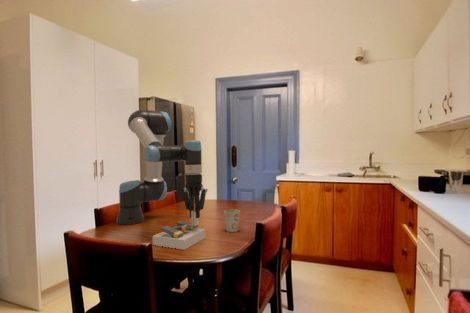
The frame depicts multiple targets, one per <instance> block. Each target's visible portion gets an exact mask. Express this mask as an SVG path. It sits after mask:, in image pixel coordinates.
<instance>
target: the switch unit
mask: <svg viewBox="0 0 470 313" xmlns="http://www.w3.org/2000/svg"><path fill="white" fill-rule="evenodd" d="M176 226H177V225H175V226H174V227H176ZM179 231H182V232H184V233H183V236H181V237H179V238H176V237H174V236H172V235H170V234H167V233H165V232H163V231H161V232H158V233H156V234H154V235H152V246H155V245H156V247H162V246H163V247H162V248H168V247H169V249H175V248H176V250H177V249H178V250H182V251H183V250H184V251H185V250H187V249H188V248H190V247H192V246H194V245H196V244H198V243H199V242H200V241H203V240H204V239H206V229H205V228H198V227H197V228H195V229H189V228H188V229H186V230H179Z"/></svg>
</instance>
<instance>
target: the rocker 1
mask: <svg viewBox="0 0 470 313" xmlns="http://www.w3.org/2000/svg"><path fill="white" fill-rule="evenodd" d="M160 231H161V232H165V233H167V234H170V235H172V236H174V237H176V238H179V237H181V236H183V233H184V232H182V231H179V230H177V229H174V228H172V226H169V225H167V224H166V225H164V226H161V228H160Z"/></svg>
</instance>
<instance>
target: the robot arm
mask: <svg viewBox="0 0 470 313" xmlns="http://www.w3.org/2000/svg"><path fill="white" fill-rule="evenodd" d="M127 126H128V128H129V130H130V131H131V132H132V133H133V134H135V135H136V137H137V138H138V139H139V141H140V143H141V144H142V146H143V147H144V150H143V151H144V153H143V154H144V159H145V160H146V176H145V177H144V178H143V182H142V181H141V180H137V179H136V180H129V181H124V182H122V183H120V184H119V189H118V193H119V194H118V195H119V198H118V199H119V202H118V203H119V210H118V213H117V217H116V224H118V225H134V224H135V225H136V224H140V223H143V222H145V215H144V214H143V210H142V203H147V202H158V201H161V200H164V199H165V197H166V195H167V193H168V192H167V191H168V186H167V182H166V181H165V180H164V177H162V172H163V162H185V163H184V167H185V169H184V170H185V187H183V188H181V189H180V191H181V194H182V195H183V196H182V197H183V202H184V205H185V209H186V210H188V211H189V219H191V223H192V225H194V226H196V225H198V226H199V218H200V216H201V215H200V214H201V213H200V211H202V210H204V207H205V201H206V195H207V192H208V189H207V188H205V187H204V186H203V174H202V173H203V170H202V169H203V168H202V165H203V164H202V144H201V140H196V139H195V140H192V139H191V140H186V141H184V145H164V140H165V139H164V138H165V137H166V136H167V133H168V132H170V131H171V128H172V121H171V117H170V115H169V113H167V112H166V111H160V110H151V109H150V110H148V109H147V110H146V109H138V110H135V111H133V112H132V113H131V114H130V116H129V117H128V120H127Z"/></svg>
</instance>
